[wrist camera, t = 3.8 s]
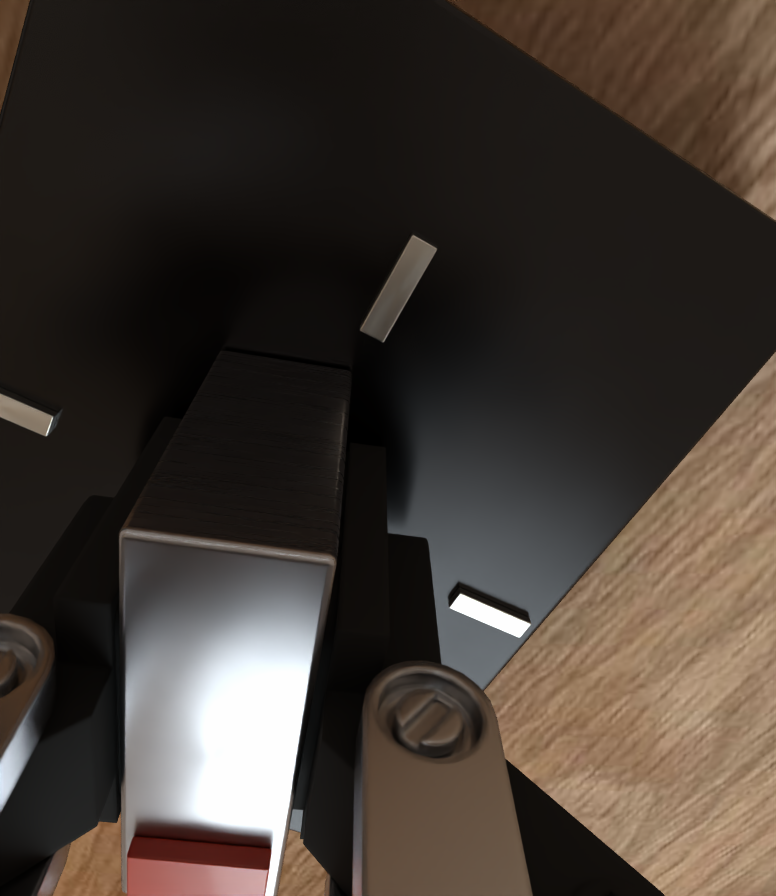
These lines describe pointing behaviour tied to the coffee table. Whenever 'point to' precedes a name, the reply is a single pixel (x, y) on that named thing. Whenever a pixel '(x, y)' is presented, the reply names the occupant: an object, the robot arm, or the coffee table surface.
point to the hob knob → (227, 625)
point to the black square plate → (364, 277)
